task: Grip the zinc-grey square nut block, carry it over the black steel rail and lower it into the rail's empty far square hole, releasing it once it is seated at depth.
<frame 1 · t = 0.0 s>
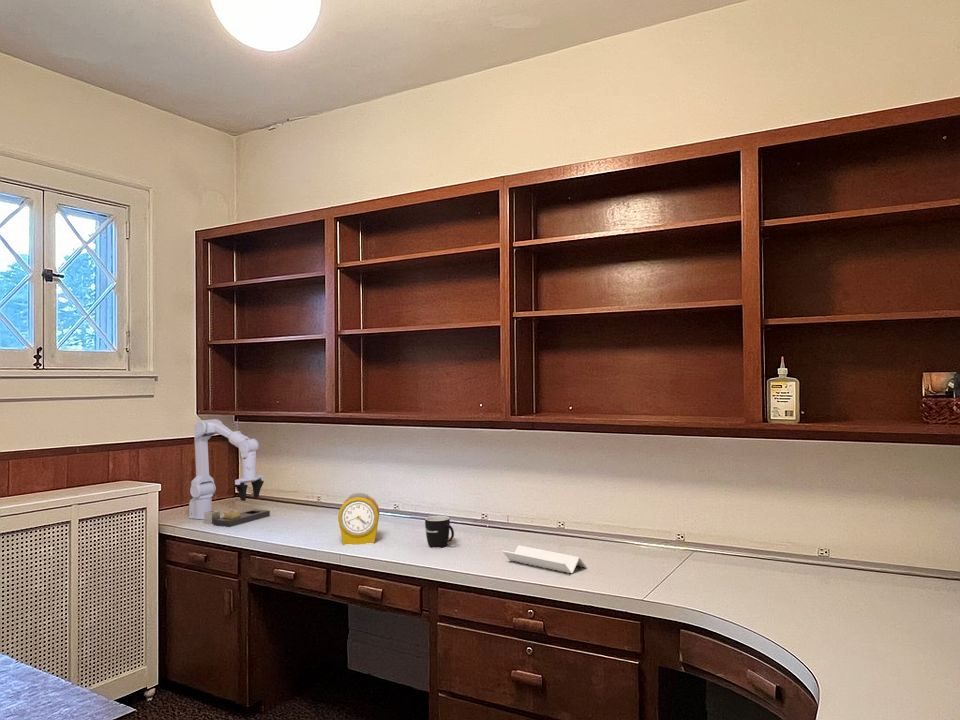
hand: (249, 499, 315), 10 cm above the worktop, fingers open, 7 cm apart
nut: (212, 523, 316), on the worktop
z bracket: (544, 567, 239), on the worktop
mug: (441, 547, 267), on the worktop
alarm clock: (359, 542, 277), on the worktop
rail: (242, 520, 320), on the worktop
seated nut: (232, 523, 314), resting in rail
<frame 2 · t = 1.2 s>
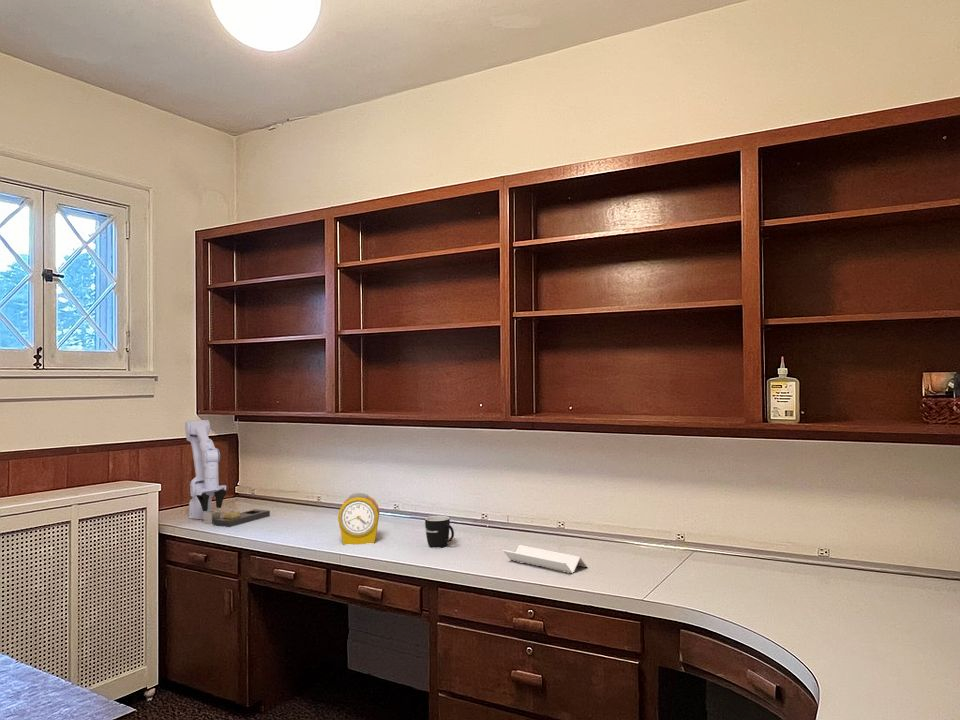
hand: (212, 509, 316), 6 cm above the worktop, fingers open, 7 cm apart
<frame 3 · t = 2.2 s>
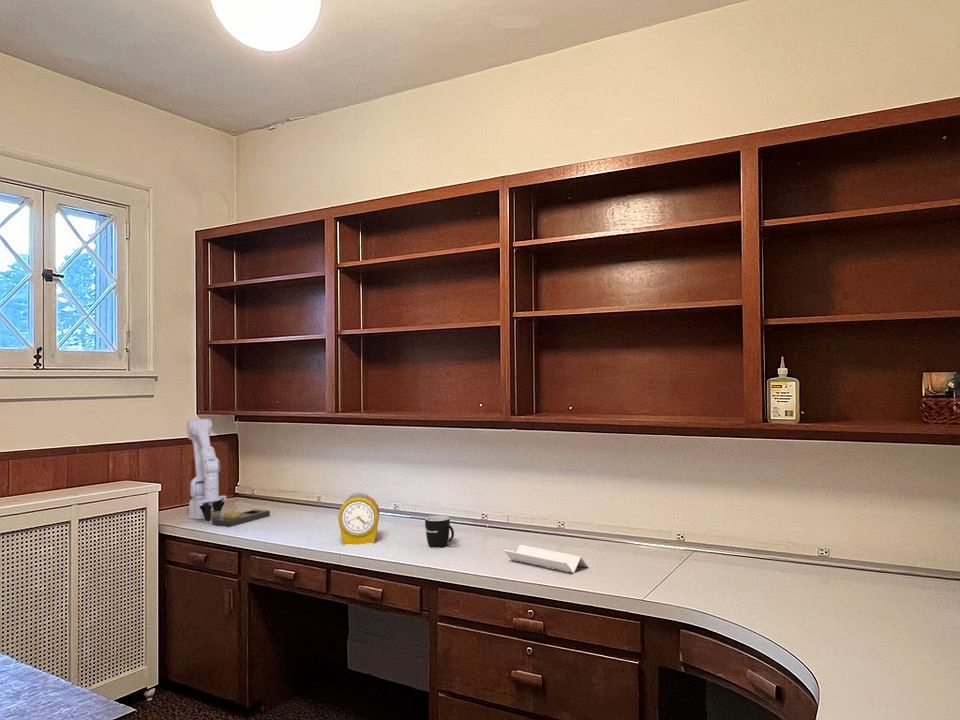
hand: (212, 519, 316), 1 cm above the worktop, fingers closed on nut, 4 cm apart
nut: (212, 523, 316), on the worktop, touching gripper
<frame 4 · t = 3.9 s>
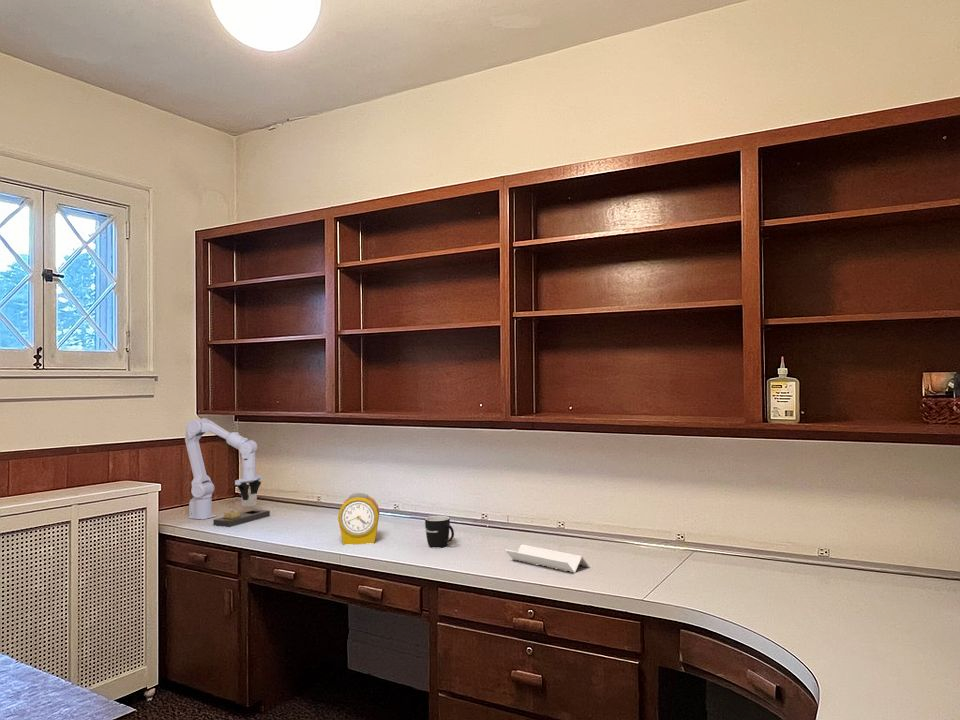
hand: (249, 499, 324), 8 cm above the worktop, fingers closed on nut, 4 cm apart
nut: (249, 505, 324), point 6 cm above the worktop, touching gripper
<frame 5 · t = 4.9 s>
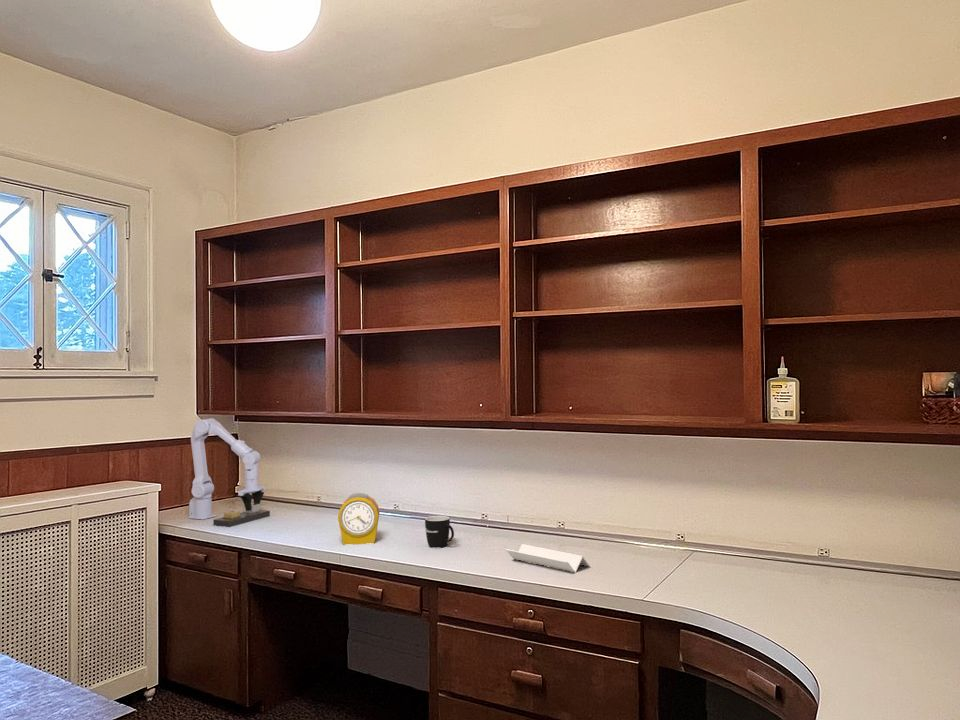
hand: (252, 509, 325), 4 cm above the worktop, fingers closed on nut, 4 cm apart
nut: (252, 515, 325), point 1 cm above the worktop, touching gripper
when the fingers open (3 cm above the worktop, at t = 5.5 s): nut stays where it is, resting in rail.
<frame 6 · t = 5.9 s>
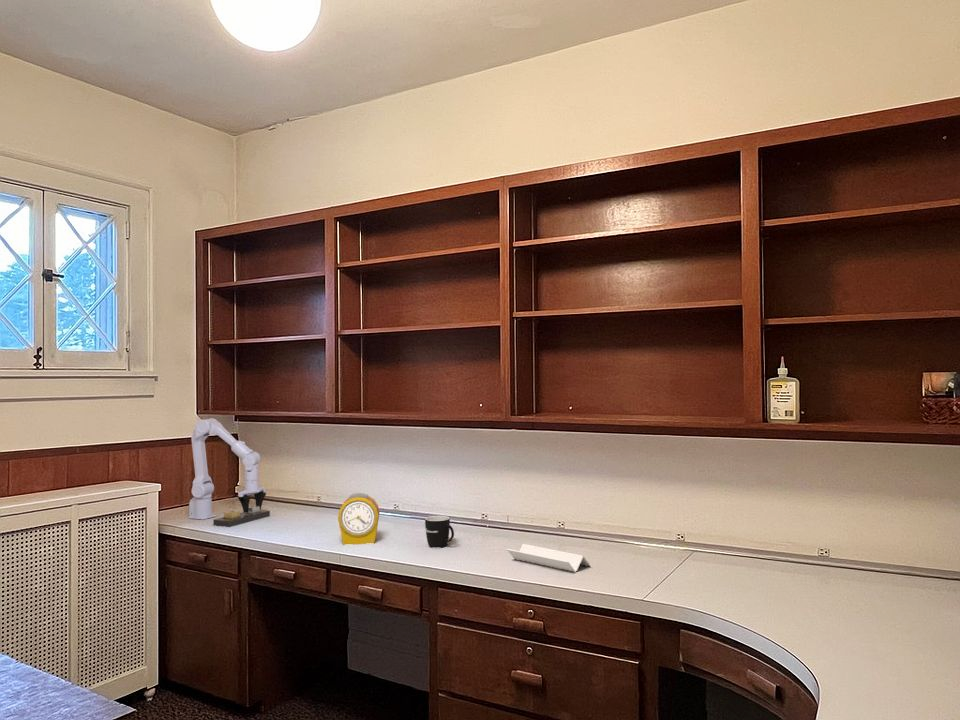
hand: (252, 510, 325), 3 cm above the worktop, fingers open, 7 cm apart
nut: (252, 518, 325), resting in rail
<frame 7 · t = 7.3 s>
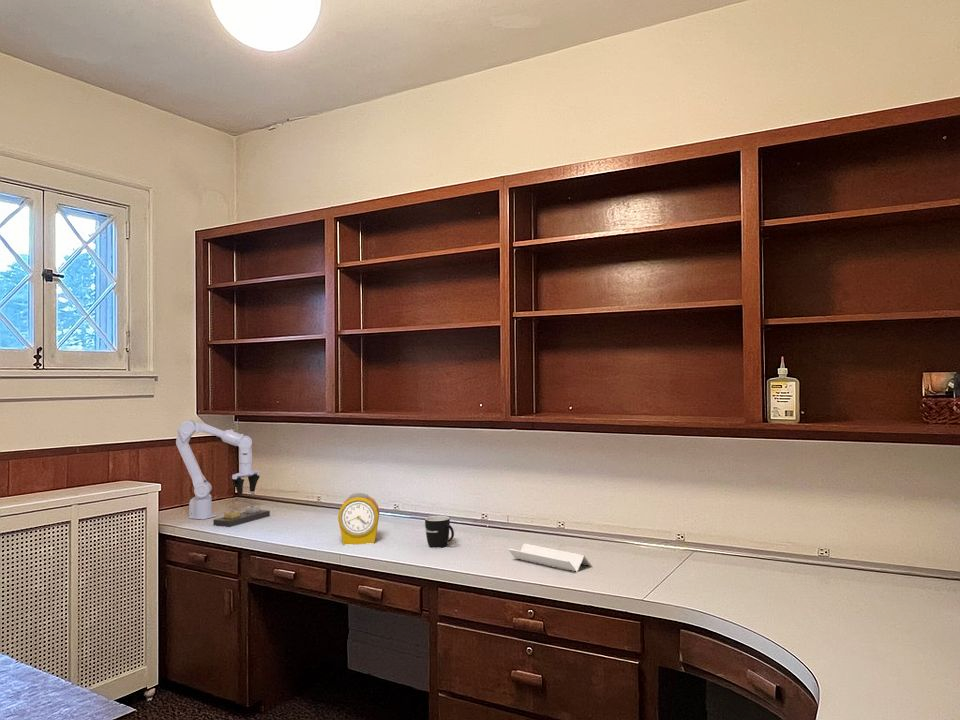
hand: (246, 492, 332), 10 cm above the worktop, fingers open, 7 cm apart
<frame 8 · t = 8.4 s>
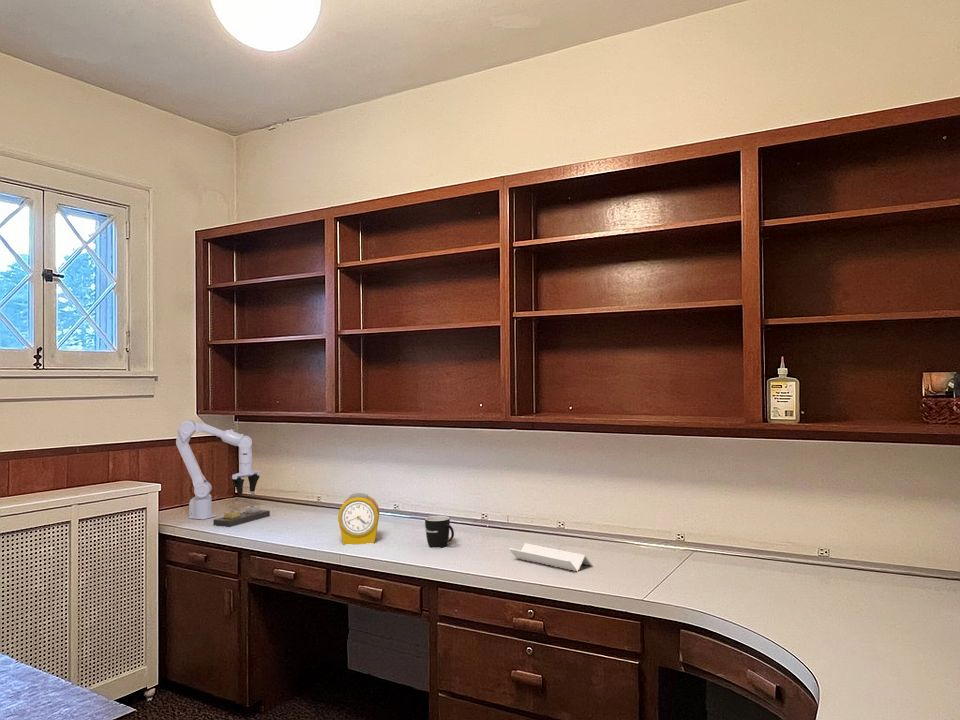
hand: (246, 492, 332), 10 cm above the worktop, fingers open, 7 cm apart
at the end: nut 0.1 cm from the target spot on the rail, point 0.0 cm above the rail's base; the gripper is holding nothing; nut tilted 0° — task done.
